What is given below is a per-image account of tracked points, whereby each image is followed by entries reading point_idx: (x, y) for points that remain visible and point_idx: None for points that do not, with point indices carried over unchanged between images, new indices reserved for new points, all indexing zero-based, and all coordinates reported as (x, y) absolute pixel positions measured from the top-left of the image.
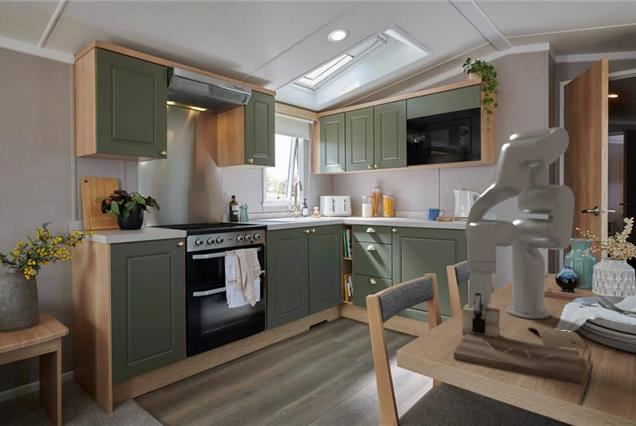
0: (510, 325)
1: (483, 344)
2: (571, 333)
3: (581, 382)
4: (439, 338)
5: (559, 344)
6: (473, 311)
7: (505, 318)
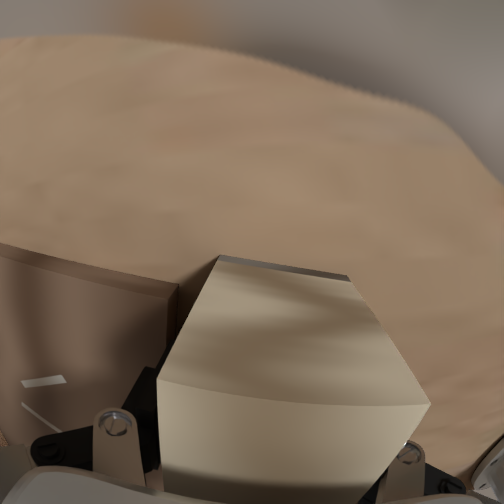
0: (427, 445)
1: (38, 361)
2: None
3: None
4: (92, 117)
5: None
6: (95, 459)
7: (499, 414)
